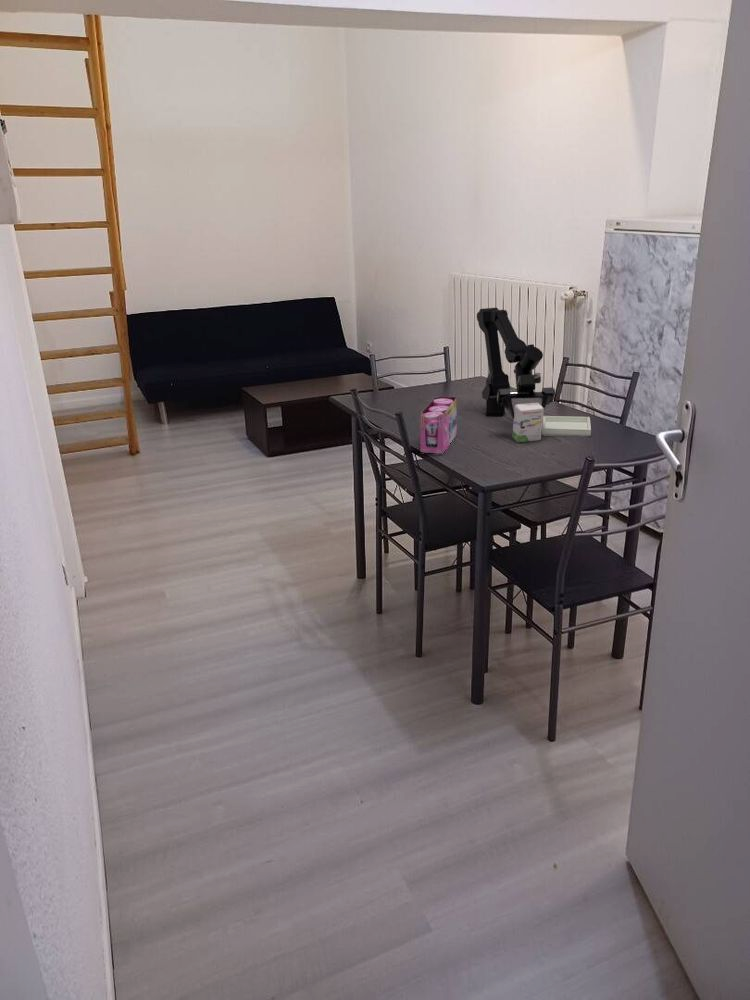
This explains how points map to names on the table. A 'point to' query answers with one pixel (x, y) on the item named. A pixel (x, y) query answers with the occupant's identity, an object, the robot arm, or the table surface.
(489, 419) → the table surface
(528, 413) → the ink box
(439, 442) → the gum box
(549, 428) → the tray
